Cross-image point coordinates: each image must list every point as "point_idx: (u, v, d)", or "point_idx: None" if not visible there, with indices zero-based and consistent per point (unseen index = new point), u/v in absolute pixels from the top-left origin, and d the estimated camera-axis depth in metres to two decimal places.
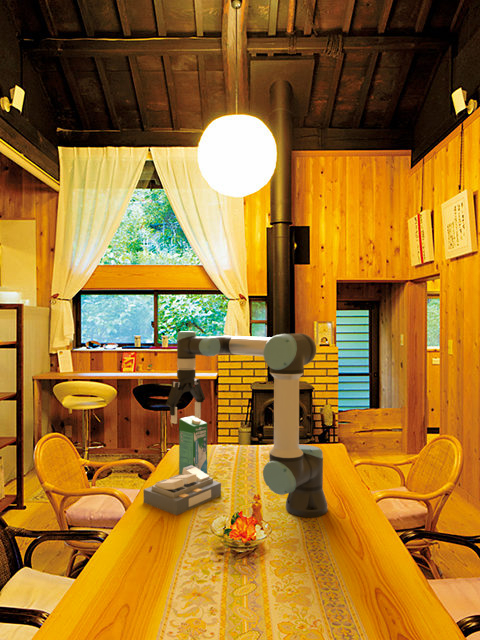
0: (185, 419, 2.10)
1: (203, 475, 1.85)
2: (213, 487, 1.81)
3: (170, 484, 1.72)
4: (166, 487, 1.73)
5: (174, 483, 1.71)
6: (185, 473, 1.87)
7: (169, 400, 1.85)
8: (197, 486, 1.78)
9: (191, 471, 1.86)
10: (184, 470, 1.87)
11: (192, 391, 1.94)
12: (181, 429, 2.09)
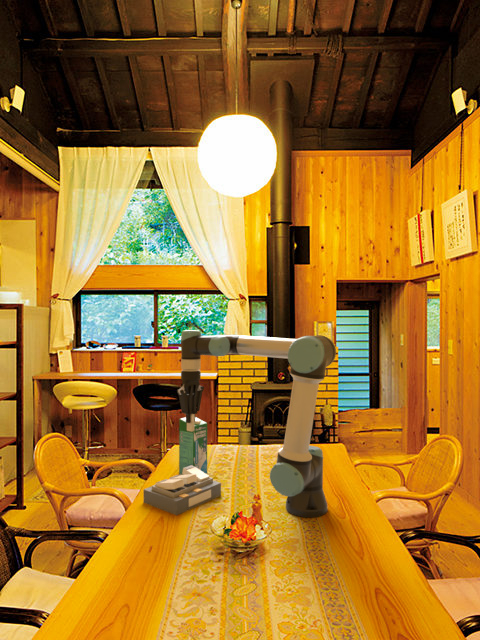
0: (185, 419, 2.10)
1: (203, 475, 1.85)
2: (213, 487, 1.81)
3: (170, 484, 1.72)
4: (166, 487, 1.73)
5: (174, 483, 1.71)
6: (185, 473, 1.87)
7: (183, 408, 1.78)
8: (197, 486, 1.78)
9: (191, 471, 1.86)
10: (184, 470, 1.87)
11: (192, 396, 1.81)
12: (181, 429, 2.09)
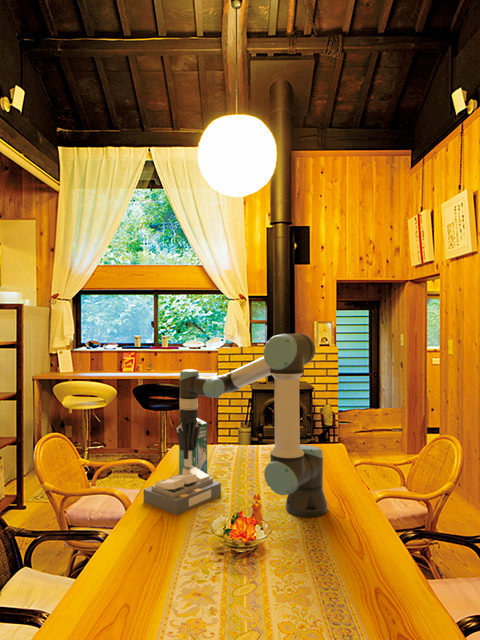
0: None
1: (203, 474, 1.85)
2: (213, 487, 1.81)
3: (170, 484, 1.72)
4: (166, 487, 1.73)
5: (174, 483, 1.71)
6: (185, 473, 1.87)
7: (181, 446, 1.86)
8: (197, 486, 1.78)
9: (191, 471, 1.86)
10: (184, 470, 1.87)
11: (190, 433, 1.89)
12: None
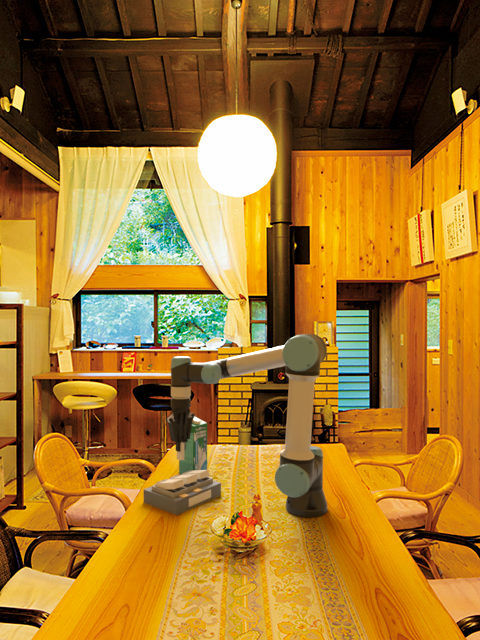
0: None
1: (202, 470, 1.85)
2: (213, 487, 1.81)
3: (170, 484, 1.72)
4: (166, 487, 1.73)
5: (174, 483, 1.71)
6: None
7: (172, 437, 1.75)
8: (197, 486, 1.78)
9: (190, 472, 1.86)
10: None
11: (182, 424, 1.78)
12: None
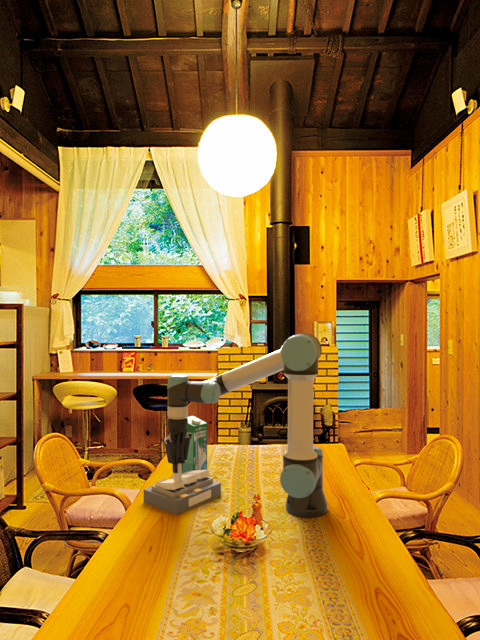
0: None
1: (202, 470, 1.85)
2: (213, 487, 1.81)
3: (170, 484, 1.72)
4: (166, 487, 1.73)
5: (174, 483, 1.71)
6: None
7: (169, 458, 1.70)
8: (197, 486, 1.78)
9: (190, 472, 1.86)
10: None
11: (179, 444, 1.73)
12: None
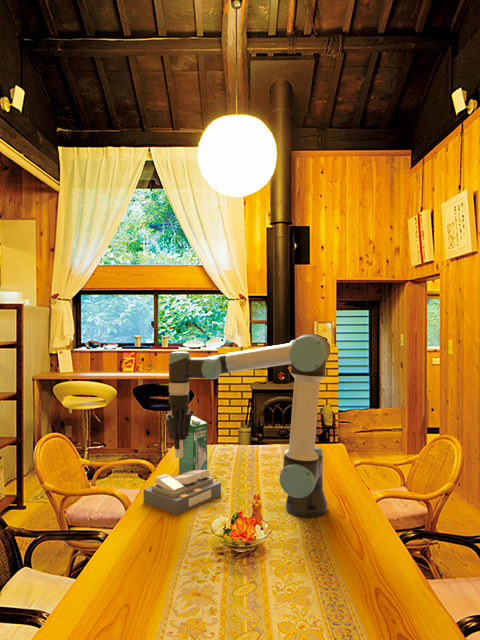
0: None
1: (202, 470, 1.85)
2: (213, 487, 1.81)
3: (170, 489, 1.71)
4: (166, 488, 1.73)
5: (175, 490, 1.71)
6: None
7: (171, 434, 1.70)
8: (197, 486, 1.78)
9: (190, 472, 1.86)
10: None
11: (181, 421, 1.74)
12: None
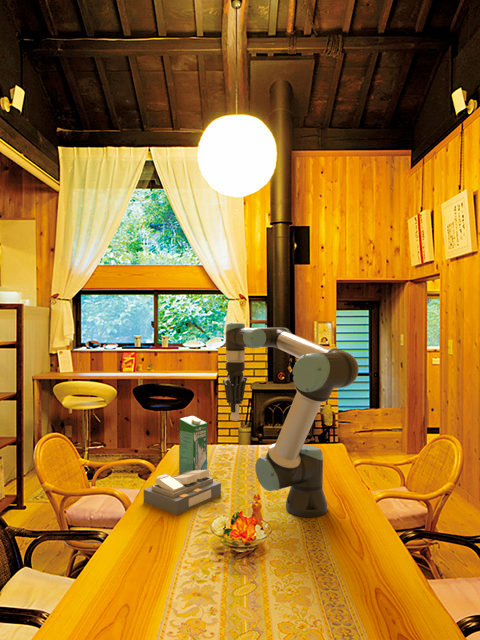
0: (185, 419, 2.10)
1: (202, 470, 1.85)
2: (213, 487, 1.81)
3: (170, 489, 1.71)
4: (166, 488, 1.73)
5: (175, 490, 1.71)
6: None
7: (228, 398, 1.83)
8: (197, 486, 1.78)
9: (190, 472, 1.86)
10: None
11: (236, 386, 1.87)
12: (181, 429, 2.09)
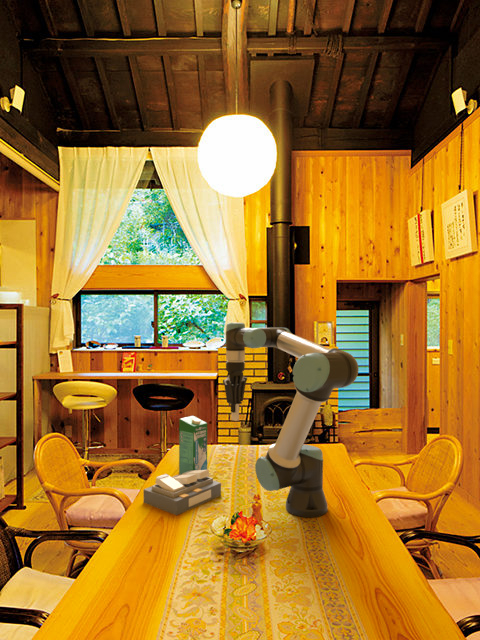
0: (185, 419, 2.10)
1: (202, 470, 1.85)
2: (213, 487, 1.81)
3: (170, 489, 1.71)
4: (166, 488, 1.73)
5: (175, 490, 1.71)
6: None
7: (228, 398, 1.83)
8: (197, 486, 1.78)
9: (190, 472, 1.86)
10: None
11: (237, 386, 1.87)
12: (181, 429, 2.09)
